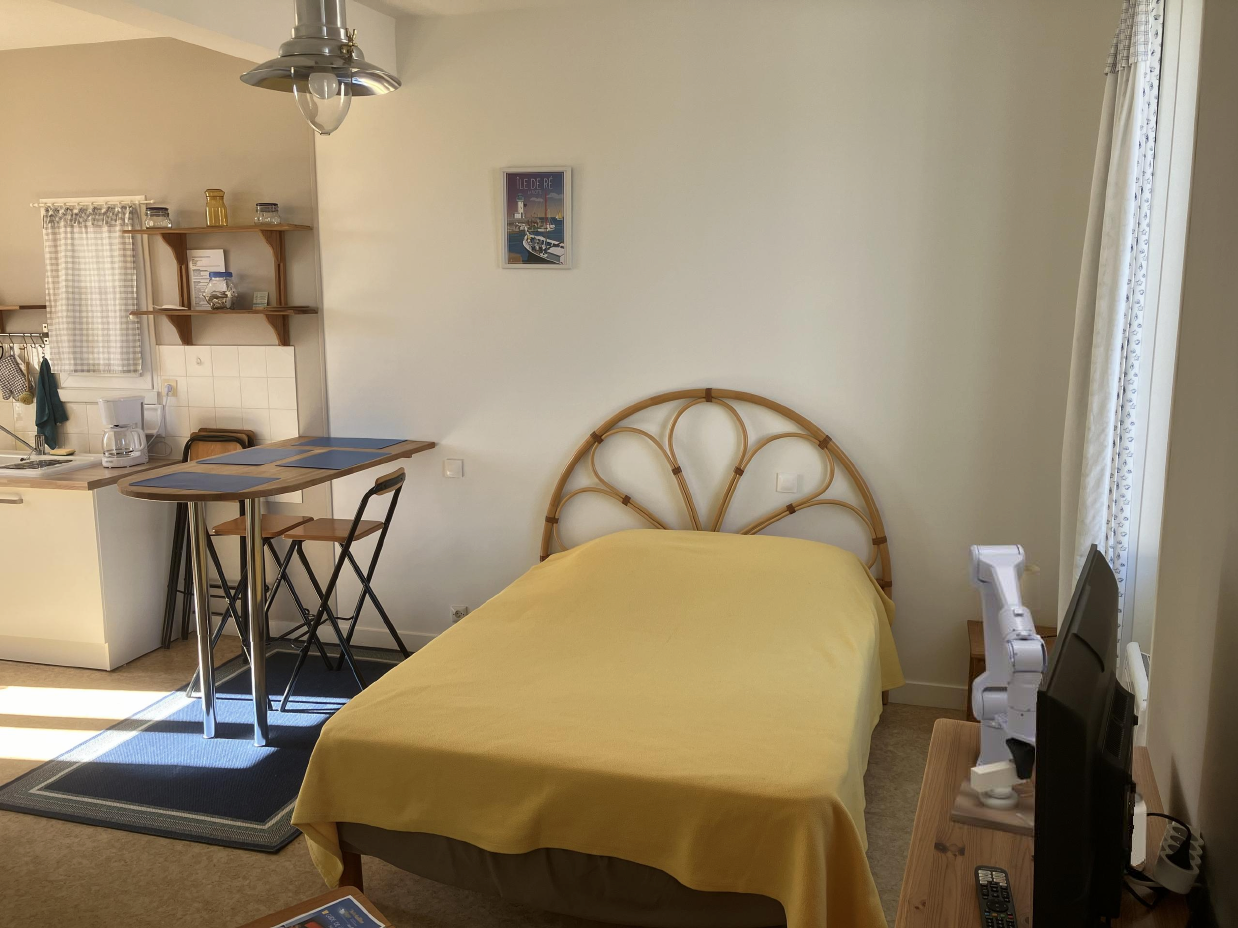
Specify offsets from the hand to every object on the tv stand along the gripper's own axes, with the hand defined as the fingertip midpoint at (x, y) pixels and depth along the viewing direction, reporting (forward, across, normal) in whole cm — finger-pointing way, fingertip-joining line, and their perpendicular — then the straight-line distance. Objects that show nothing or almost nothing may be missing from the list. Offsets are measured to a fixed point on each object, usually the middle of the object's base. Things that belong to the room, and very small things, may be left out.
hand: (1024, 778), depth 171 cm
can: (+6, -20, -3) cm, 21 cm away
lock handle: (+3, +2, +4) cm, 5 cm away
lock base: (+6, +2, +4) cm, 8 cm away
